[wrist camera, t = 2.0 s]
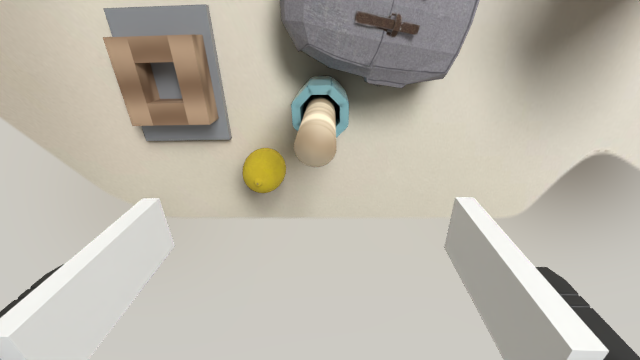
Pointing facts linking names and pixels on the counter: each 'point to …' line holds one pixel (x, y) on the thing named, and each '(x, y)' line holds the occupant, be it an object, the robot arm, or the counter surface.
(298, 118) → the cup
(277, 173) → the lemon
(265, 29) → the counter surface
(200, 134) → the tray
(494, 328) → the robot arm
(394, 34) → the grey rounded bag
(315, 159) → the dowel
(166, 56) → the frame
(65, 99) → the counter surface
